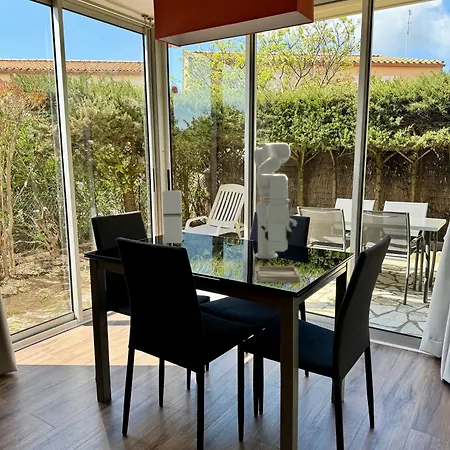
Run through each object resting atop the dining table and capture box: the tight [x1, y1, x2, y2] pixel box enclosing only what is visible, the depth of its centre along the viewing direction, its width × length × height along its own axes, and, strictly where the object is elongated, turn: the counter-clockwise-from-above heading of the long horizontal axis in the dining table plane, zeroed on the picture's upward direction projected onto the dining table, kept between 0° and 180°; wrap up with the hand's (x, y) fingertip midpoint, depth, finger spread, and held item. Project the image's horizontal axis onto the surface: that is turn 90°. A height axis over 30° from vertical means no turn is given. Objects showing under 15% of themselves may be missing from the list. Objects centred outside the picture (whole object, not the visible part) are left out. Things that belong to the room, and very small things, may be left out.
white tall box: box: [162, 190, 183, 245], centre depth 268 cm, size 11×11×35 cm
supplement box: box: [268, 223, 289, 252], centre depth 188 cm, size 7×7×13 cm
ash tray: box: [256, 266, 301, 283], centre depth 191 cm, size 18×18×2 cm
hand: (277, 240), depth 189 cm, fingers closed on supplement box, 9 cm apart
